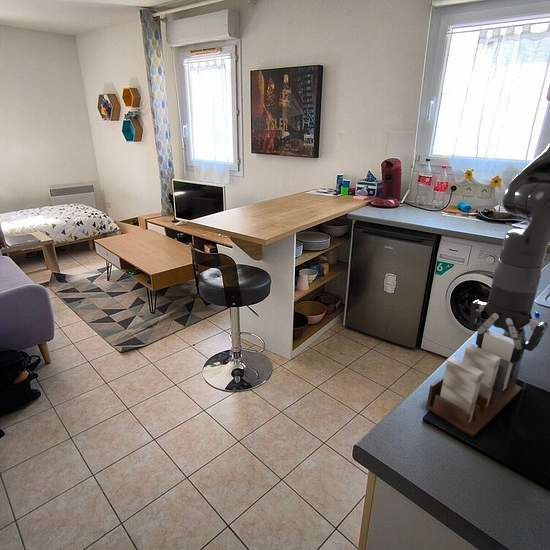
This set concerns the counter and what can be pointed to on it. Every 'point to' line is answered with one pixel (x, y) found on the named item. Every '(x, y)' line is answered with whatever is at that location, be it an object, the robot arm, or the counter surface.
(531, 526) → the counter surface
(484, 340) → the white book
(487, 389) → the book rack
